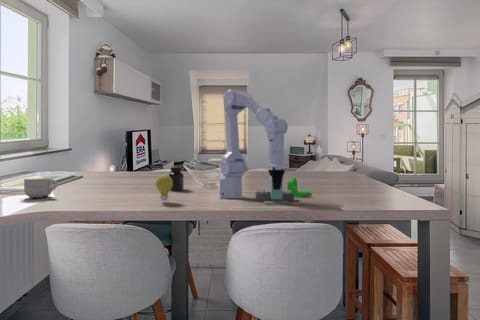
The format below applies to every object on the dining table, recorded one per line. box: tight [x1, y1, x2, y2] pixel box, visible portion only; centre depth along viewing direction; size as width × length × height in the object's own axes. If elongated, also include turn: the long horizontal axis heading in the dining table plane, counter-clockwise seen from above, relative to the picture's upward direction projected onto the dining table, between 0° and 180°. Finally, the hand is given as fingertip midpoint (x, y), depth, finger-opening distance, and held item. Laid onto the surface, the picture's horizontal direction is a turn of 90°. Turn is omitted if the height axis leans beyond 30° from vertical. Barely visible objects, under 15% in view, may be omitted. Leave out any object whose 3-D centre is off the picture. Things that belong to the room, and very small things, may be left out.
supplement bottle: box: [168, 166, 185, 192], centre depth 184 cm, size 7×7×12 cm
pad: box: [263, 201, 291, 206], centre depth 145 cm, size 9×8×1 cm
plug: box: [269, 175, 284, 199], centre depth 145 cm, size 4×4×8 cm
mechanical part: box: [287, 177, 311, 198], centre depth 170 cm, size 12×6×8 cm, turn 147°
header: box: [254, 189, 295, 203], centre depth 154 cm, size 14×8×4 cm, turn 90°
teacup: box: [23, 178, 58, 198], centre depth 165 cm, size 14×11×8 cm
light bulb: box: [155, 174, 173, 202], centre depth 154 cm, size 7×7×10 cm
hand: (276, 188), depth 145 cm, fingers closed on plug, 4 cm apart
